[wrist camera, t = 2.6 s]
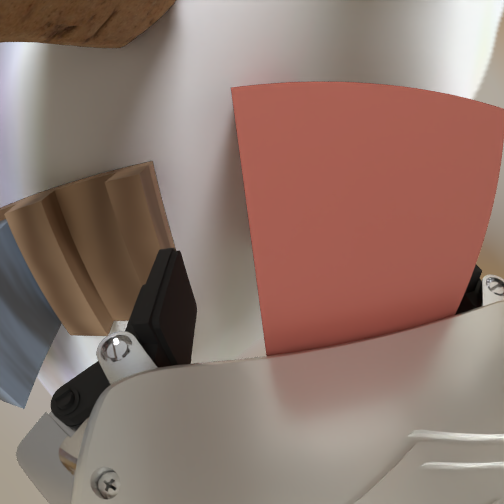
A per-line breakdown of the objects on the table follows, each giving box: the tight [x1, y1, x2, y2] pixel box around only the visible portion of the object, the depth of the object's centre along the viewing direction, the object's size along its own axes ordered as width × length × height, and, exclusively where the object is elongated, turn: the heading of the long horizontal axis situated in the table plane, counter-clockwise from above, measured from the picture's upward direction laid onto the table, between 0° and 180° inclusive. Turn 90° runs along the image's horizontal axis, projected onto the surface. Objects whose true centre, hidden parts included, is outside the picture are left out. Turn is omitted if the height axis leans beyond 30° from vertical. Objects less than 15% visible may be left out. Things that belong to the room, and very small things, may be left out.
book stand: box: [0, 161, 176, 409], centre depth 16 cm, size 23×14×16 cm, turn 96°
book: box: [231, 82, 504, 356], centre depth 12 cm, size 4×12×16 cm, turn 7°
